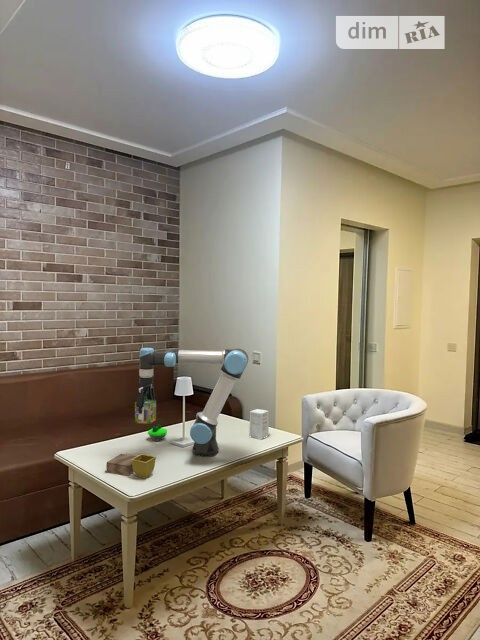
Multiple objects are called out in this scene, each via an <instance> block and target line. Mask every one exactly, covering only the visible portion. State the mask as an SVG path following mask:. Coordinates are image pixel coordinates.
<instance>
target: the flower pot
mask: <svg viewBox="0 0 480 640" xmlns="http://www.w3.org/2000/svg"><path fill="white" fill-rule="evenodd" d="M136 456H137V457H135V458H134V459H132V467H133V471H134V473H133V474H134V475H135V476H136V477H138V478H143V479H146V478H148V477H149V476H151V475H152V473H153V472H154V469H155V465H156V458H157V456H154V455H148V454H143V453H141V454H138V455H136Z"/></svg>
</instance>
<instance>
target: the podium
mask: <svg viewBox="0 0 480 640" xmlns="http://www.w3.org/2000/svg"><path fill="white" fill-rule="evenodd" d="M137 456H138V455H130V454H124V453H119V455H116V456H114V457H113V458H112V459H110V460H107V461H106V470H105V471H106V473H110V474H117V475H121V476H129V477H130V476H131V475H133V474H135V473H134V471H133V467H132V459H134V458H135V457H137Z"/></svg>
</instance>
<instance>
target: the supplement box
mask: <svg viewBox="0 0 480 640" xmlns="http://www.w3.org/2000/svg"><path fill="white" fill-rule="evenodd" d="M269 416H270V411H269V410H266V409H260V408H259V409H258V408H256V409H253V410H250V411H249V435H248V437H249V436H251V437H250V438H252V437H256V438H260V439H259V440H261V439H262V438H264V437H266V436H268V437H269V430H270V429H269V425H270V424H269V422H270V421H269V420H270V419H269V418H270V417H269ZM256 438H255V439H256ZM266 438H267V437H266ZM264 439H265V438H264ZM262 440H263V439H262Z"/></svg>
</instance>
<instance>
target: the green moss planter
mask: <svg viewBox="0 0 480 640" xmlns="http://www.w3.org/2000/svg"><path fill="white" fill-rule="evenodd" d="M167 433H168V429H167V428H163V427H162V425H161V424H157V425H156V423H154V427H152V428H151V429H149V430H148V431H147V435H148V436H149V437H150V438H151V439H152V440H154V441H161V440H162V439H163V440H164V438H165V437H166V435H167Z"/></svg>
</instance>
